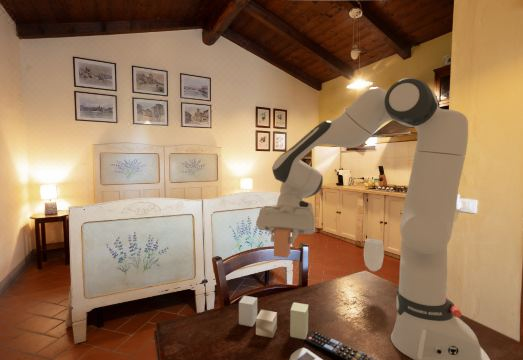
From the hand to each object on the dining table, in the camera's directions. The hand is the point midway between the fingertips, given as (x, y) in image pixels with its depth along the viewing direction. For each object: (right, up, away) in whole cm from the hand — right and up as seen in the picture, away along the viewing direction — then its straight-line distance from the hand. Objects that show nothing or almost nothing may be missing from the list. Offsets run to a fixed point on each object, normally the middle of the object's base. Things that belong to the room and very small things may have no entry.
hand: (281, 242), depth 89 cm
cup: (+36, -24, +16) cm, 46 cm away
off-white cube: (-5, -25, -8) cm, 27 cm away
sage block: (+4, -25, -9) cm, 27 cm away
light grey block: (-11, -25, -3) cm, 27 cm away
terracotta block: (0, -4, +1) cm, 4 cm away
